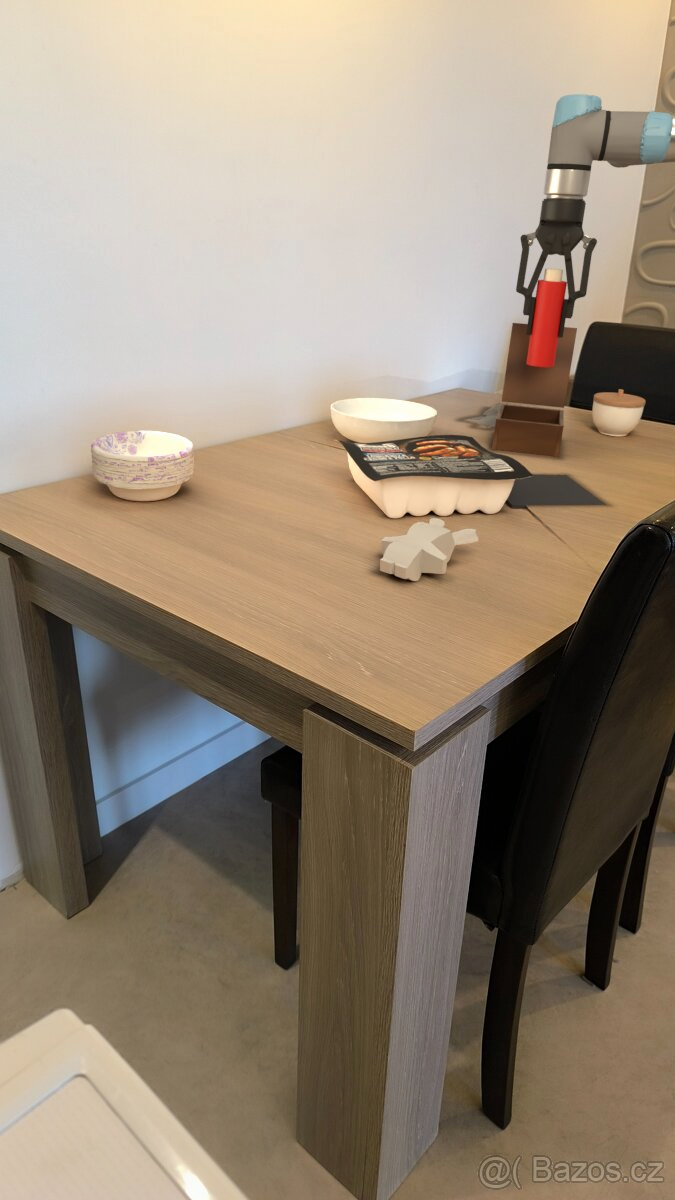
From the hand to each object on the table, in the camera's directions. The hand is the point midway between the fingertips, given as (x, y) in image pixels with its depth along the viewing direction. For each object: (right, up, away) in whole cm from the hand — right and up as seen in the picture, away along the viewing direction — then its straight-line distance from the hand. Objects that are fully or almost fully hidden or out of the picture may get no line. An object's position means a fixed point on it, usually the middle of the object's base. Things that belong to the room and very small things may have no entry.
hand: (544, 334), depth 155 cm
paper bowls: (-69, -33, -27) cm, 81 cm away
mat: (-5, -32, -16) cm, 36 cm away
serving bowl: (-30, -19, +8) cm, 37 cm away
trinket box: (+21, -13, +26) cm, 36 cm away
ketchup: (0, -5, +2) cm, 5 cm away
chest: (-1, -19, +10) cm, 22 cm away
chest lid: (+2, -3, +11) cm, 11 cm away
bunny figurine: (-28, -45, -47) cm, 71 cm away
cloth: (-2, -10, +31) cm, 33 cm away
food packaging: (-25, -34, -22) cm, 48 cm away
